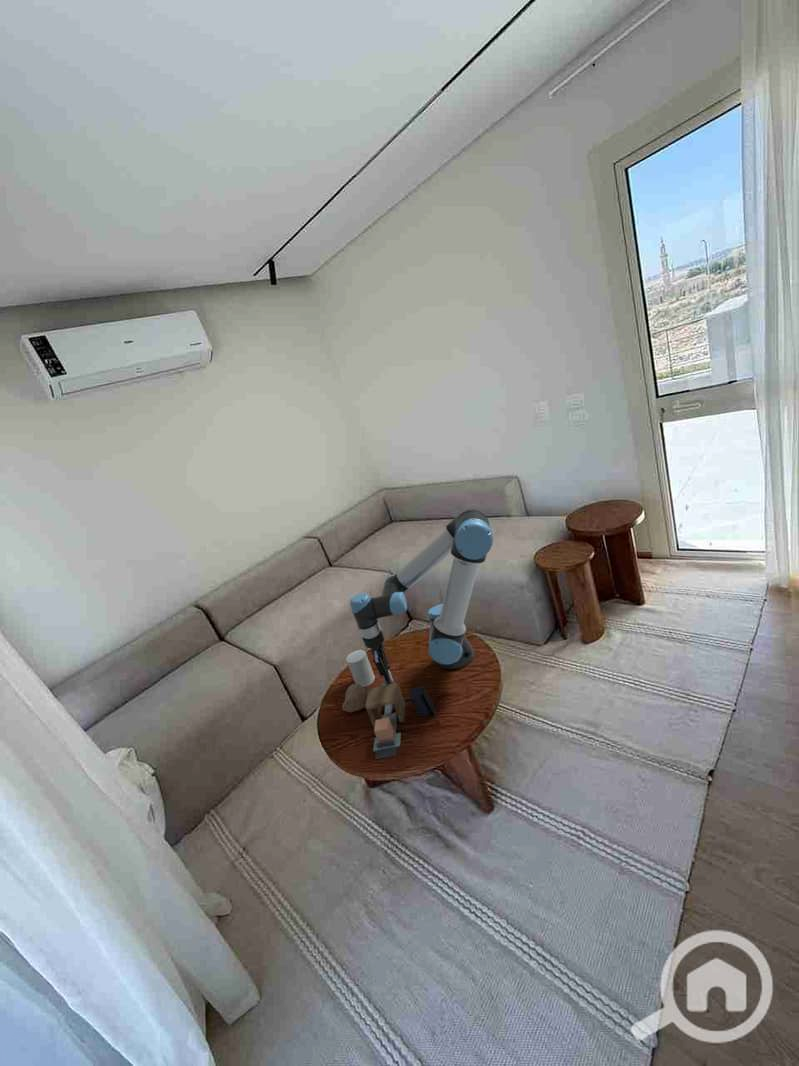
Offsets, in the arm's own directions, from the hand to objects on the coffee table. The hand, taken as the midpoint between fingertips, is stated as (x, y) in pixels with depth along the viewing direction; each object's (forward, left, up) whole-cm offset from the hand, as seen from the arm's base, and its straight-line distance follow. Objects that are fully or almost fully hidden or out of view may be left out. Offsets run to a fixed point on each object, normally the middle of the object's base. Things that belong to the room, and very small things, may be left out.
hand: (390, 685), depth 167 cm
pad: (0, +25, -2) cm, 26 cm away
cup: (+12, -10, -3) cm, 16 cm away
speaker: (-13, +15, -3) cm, 20 cm away
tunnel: (0, +13, -2) cm, 13 cm away
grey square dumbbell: (0, +15, -2) cm, 15 cm away
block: (0, +24, -1) cm, 24 cm away
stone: (+14, +4, -3) cm, 15 cm away
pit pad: (0, +30, -2) cm, 30 cm away
